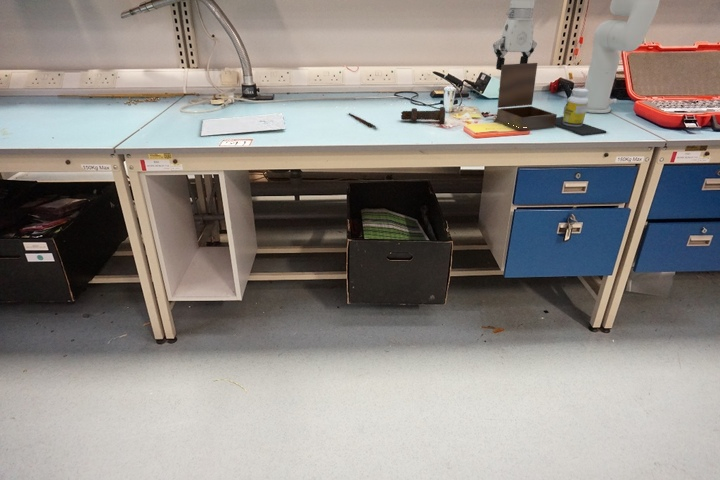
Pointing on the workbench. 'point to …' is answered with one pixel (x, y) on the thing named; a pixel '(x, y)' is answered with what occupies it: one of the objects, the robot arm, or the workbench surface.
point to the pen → (364, 121)
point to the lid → (517, 84)
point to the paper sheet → (242, 124)
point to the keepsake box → (526, 118)
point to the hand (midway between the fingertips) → (511, 69)
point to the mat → (578, 128)
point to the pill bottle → (576, 108)
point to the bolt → (424, 115)
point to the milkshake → (449, 98)
